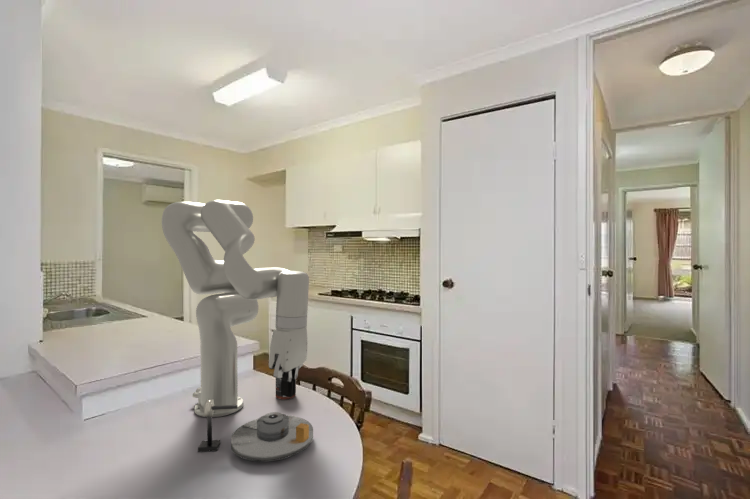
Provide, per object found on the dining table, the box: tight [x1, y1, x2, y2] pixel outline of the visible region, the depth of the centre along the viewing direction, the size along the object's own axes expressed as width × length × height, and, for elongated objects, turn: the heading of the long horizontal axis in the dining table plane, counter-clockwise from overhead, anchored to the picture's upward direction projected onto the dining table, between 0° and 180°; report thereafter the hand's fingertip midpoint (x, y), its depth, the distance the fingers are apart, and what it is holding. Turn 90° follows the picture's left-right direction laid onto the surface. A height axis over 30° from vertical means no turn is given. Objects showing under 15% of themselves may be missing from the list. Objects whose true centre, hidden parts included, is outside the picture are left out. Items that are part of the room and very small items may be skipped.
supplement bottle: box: [275, 377, 297, 401], centre depth 116 cm, size 6×6×11 cm
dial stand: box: [197, 399, 238, 453], centre depth 87 cm, size 8×4×11 cm, turn 97°
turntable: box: [230, 414, 314, 462], centre depth 89 cm, size 18×18×4 cm
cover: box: [257, 411, 289, 441], centre depth 88 cm, size 7×7×4 cm
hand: (287, 394), depth 96 cm, fingers closed
